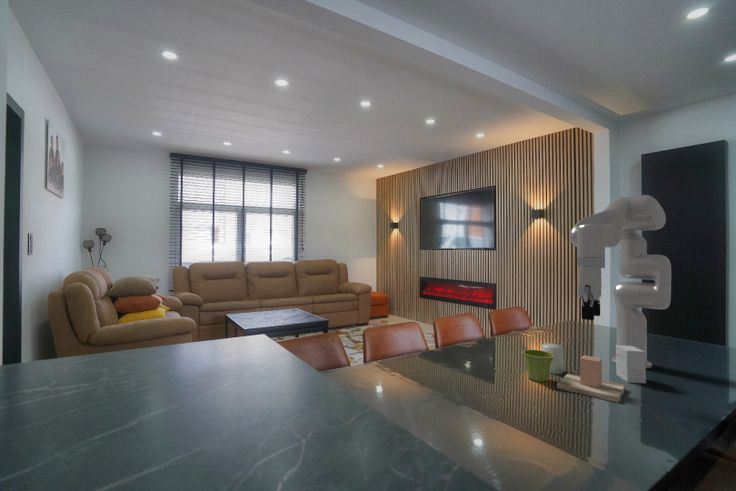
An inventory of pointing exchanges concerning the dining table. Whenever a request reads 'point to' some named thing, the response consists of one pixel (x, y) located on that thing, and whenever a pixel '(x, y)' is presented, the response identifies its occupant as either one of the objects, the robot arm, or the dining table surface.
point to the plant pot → (538, 364)
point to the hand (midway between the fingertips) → (591, 317)
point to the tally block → (591, 371)
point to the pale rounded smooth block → (555, 357)
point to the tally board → (592, 388)
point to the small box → (630, 364)
